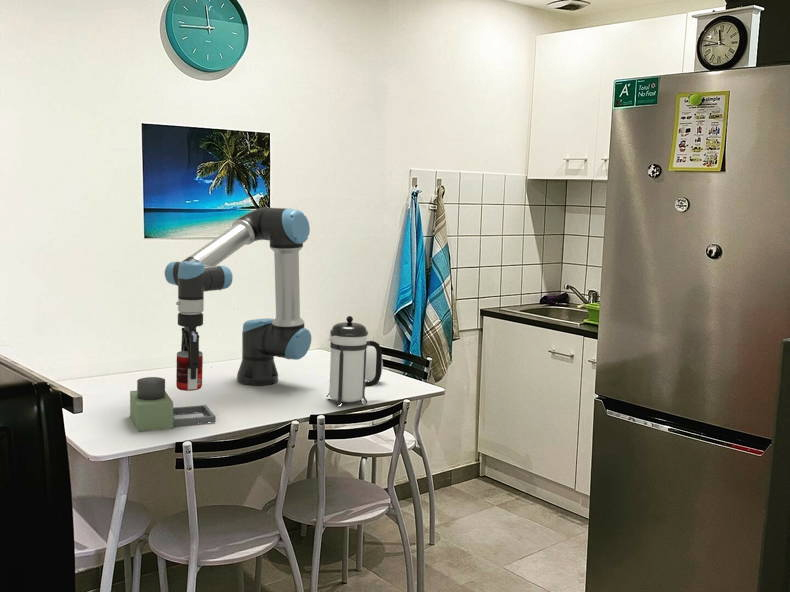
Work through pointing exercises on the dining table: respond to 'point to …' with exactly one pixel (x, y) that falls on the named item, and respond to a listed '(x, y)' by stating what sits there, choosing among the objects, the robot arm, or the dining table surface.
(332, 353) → the coffee press
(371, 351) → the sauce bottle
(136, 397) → the capped block with tray
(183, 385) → the canned food
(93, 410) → the dining table surface
